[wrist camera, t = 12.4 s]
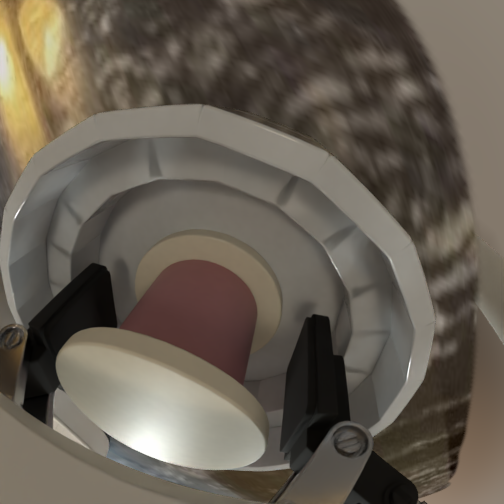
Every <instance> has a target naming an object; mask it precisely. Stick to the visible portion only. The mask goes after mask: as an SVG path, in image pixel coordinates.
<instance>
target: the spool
mask: <svg viewBox="0 0 504 504" xmlns="http://www.w3.org/2000/svg"><path fill="white" fill-rule="evenodd" d="M135 293H136V298H137V302H138V303H137V304H136V306H135V307H134V308H133V310H132V311H131V312H130V314H129V315H128V316H127V318H126V319H125V321H124V322H123V323H122V325H121V326H120V327H119V329H118V328H109V327H95V328H88V329H84V330H81V331H79V332H77V333H75V334H74V335H72V336H71V337H70V338H69V340H68V341H67V342H66V343H65V344H64V346H63V347H62V348H61V349H60V351H59V352H58V355H57V357H56V372H57V375H58V379H59V381H60V383H61V385H62V387H63V389H64V390H65V392H66V394H67V395H68V396H69V398H70V399H71V400H72V402H73V403H74V404H75V405H76V406H77V408H78V409H79V410H80V411H81V412H82V413H83V414H84V415H85V416H86V417H87V418H88V419H90V420H91V421H92V422H93V423H94V424H95V425H97V426H98V427H99V428H100V429H102V430H103V431H104V432H106V433H107V434H109V435H110V436H112V437H113V438H115V439H116V440H118V441H120V442H121V443H123V444H125V445H127V446H129V447H131V448H133V449H135V450H137V451H139V452H141V453H143V454H146V455H148V456H151V457H153V458H156V459H159V460H162V461H165V462H168V463H172V464H176V465H180V466H184V467H190V468H196V469H207V470H226V469H234V468H240V467H243V466H247V465H249V464H251V463H253V462H255V461H257V460H258V459H259V458H261V456H262V455H263V454H264V453H265V451H266V448H267V445H268V437H269V421H268V418H267V415H266V413H265V411H264V409H263V407H262V406H261V404H260V403H259V402H258V401H257V399H256V398H255V397H254V396H253V395H252V394H251V393H250V392H249V391H248V390H247V389H246V388H245V387H244V386H243V385H244V380H245V375H246V371H247V366H248V361H249V356H250V354H252V353H255V352H257V351H258V350H260V349H261V348H263V347H264V346H265V345H266V344H267V343H268V342H269V341H270V340H271V339H272V338H273V336H274V335H275V333H276V331H277V330H278V327H279V324H280V321H281V316H282V303H283V299H282V292H281V288H280V285H279V282H278V280H277V277H276V275H275V273H274V272H273V270H272V269H271V267H270V266H269V264H268V263H267V262H266V261H265V260H264V258H263V257H262V256H261V255H260V254H258V253H257V252H256V251H255V250H254V249H253V248H251V247H250V246H248V245H247V244H245V243H244V242H242V241H240V240H238V239H236V238H234V237H232V236H229V235H227V234H224V233H220V232H216V231H211V230H204V229H191V230H183V231H179V232H176V233H173V234H170V235H168V236H166V237H164V238H163V239H161V240H160V241H158V242H157V243H156V244H155V245H154V246H153V247H152V248H151V249H150V250H149V251H148V252H147V253H146V254H145V255H144V257H143V258H142V260H141V261H140V263H139V265H138V268H137V272H136V277H135Z"/></svg>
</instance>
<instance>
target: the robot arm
mask: <svg viewBox="0 0 504 504" xmlns="http://www.w3.org/2000/svg"><path fill="white" fill-rule="evenodd" d="M117 324H118V323H117V317H116V311H115V304H114V298H113V291H112V283H111V275H110V272H109V271H108V270H107V267H106V266H104V265H100V264H97V263H91V264H90V265H89V266H88V267H87V268H85V269H84V270H83V271H82V272H81V273H80V274H79V275H78V276H76V277H75V278H74V279H73V280H72V281H71V282H70V283H69V284H68V285H67V286H66V287H65V288H63V289H62V290H61V291H60V292H59V293H58V294H57V295H56V296H55V297H54V298H53V299H52V300H51V301H50V302H49V303H48V304H47V305H46V306H45V307H44V308H43V309H42V310H41V311H40V312H39V313H38V314H37V315H36V316H35V317H34V318H33V319H32V320H31V321H30V322H29V323H28V325H29V328H28V329H26V328H25V327H24V326H23V325H21V324H16V323H15V324H9V325H7V326H5V327H3V328H2V329H1V330H0V504H427V503H426V502H425V501H423V502H420V501H419V500H418V491H417V489H416V487H415V485H414V484H413V483H412V482H411V481H410V480H408V479H407V478H406V477H405V476H403V475H402V474H401V473H399V472H398V471H397V470H396V469H394V468H393V467H392V466H391V465H389V464H388V463H387V462H386V461H384V460H383V459H382V458H381V457H380V456H378V455H377V454H376V453H375V452H374V451H372V449H373V446H374V443H373V437H372V435H371V432H370V431H369V430H368V429H367V428H366V427H365V426H363V425H362V424H361V423H358V422H355V421H351V419H350V408H349V398H348V388H347V379H346V371H345V363H344V358H343V356H341V355H333V346H332V337H331V328H330V320H329V317H328V316H323V315H318V314H313V315H312V316H311V317H306V319H305V321H304V324H303V327H302V330H301V332H300V335H299V338H298V341H297V343H296V346H295V349H294V351H293V354H292V357H291V359H290V362H289V365H288V368H287V372H286V383H285V396H284V407H283V419H282V429H281V439H280V452H284V453H285V454H284V460H288V461H290V465H289V467H290V468H291V469H292V470H293V471H294V472H293V473H292V474H291V476H290V477H289V478H288V479H287V481H286V482H285V483H284V484H283V486H282V487H281V488H280V489H279V491H278V492H277V493H276V494H275V495H274V496H273V498H272V499H271V500H270V501H269V502H268V503H264V502H257V501H250V500H244V499H238V498H233V497H228V496H223V495H218V494H213V493H209V492H205V491H200V490H196V489H193V488H189V487H185V486H182V485H178V484H175V483H172V482H168V481H165V480H162V479H159V478H156V477H153V476H151V475H148V474H145V473H142V472H140V471H137V470H134V469H132V468H129V467H127V466H124V465H122V464H120V463H117V462H115V461H113V460H111V459H108V458H106V457H104V456H102V455H100V454H98V453H96V452H94V451H92V450H90V449H88V448H86V447H84V446H82V445H80V444H78V443H76V442H74V441H73V440H71V439H69V438H67V437H65V436H64V435H62V434H60V433H59V432H57V431H55V430H54V429H53V414H54V396H55V391H56V389H57V388H59V389H60V390H62V391H64V392H65V390H64V389H63V387H62V385H61V383H60V381H59V379H58V375H57V372H56V357H57V355H58V352H59V351H60V349H61V348H62V347H63V346H64V344H65V343H66V342H67V341H68V340H69V338H70V337H71V336H72V335H74V334H75V333H77V332H79V331H81V330H84V329H88V328H95V327H109V328H117Z"/></svg>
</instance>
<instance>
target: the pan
mask: <svg viewBox="0 0 504 504" xmlns="http://www.w3.org/2000/svg"><path fill="white" fill-rule="evenodd" d="M53 429H54V430H55V431H57V432H59V433H60V434H62V435H64V436H65V437H67V438H69V439H71V440H73V441H74V442H76V443H78V444H80V445H82V446H84V447H86V448H88V449H90V450H92V451H94V452H96V453H98V454H100V455H102V456H104V457H106V455H107V452H108V449H109V441H108V438H107V436H106V434H105V432H104V431H103V430H102V429H100V428H99V427H98V426H97V425H95V424H94V423H93V422H92V421H91V420H90V419H88V418H87V417H86V416H85V415H84V414H83V413H82V412H81V411H80V410H79V409H78V408H77V406H76V405H75V404H74V403H73V402H72V400H71V399H70V398H69V396H68V395H67V394H66V393H65V392H64V391H62V390H60V389H59V388H57V389H56V391H55V396H54V414H53Z"/></svg>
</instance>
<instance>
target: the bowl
mask: <svg viewBox="0 0 504 504" xmlns="http://www.w3.org/2000/svg"><path fill="white" fill-rule="evenodd" d="M191 229H204V230H211V231H216V232H220V233H224V234H227V235H229V236H232V237H234V238H236V239H238V240H240V241H242V242H244V243H245V244H247V245H248V246H250V247H251V248H253V249H254V250H255V251H256V252H257V253H258V254H260V255H261V256H262V257H263V258H264V260H265V261H266V262H267V263H268V264H269V266H270V267H271V269H272V270H273V272H274V273H275V275H276V277H277V280H278V282H279V285H280V288H281V292H282V299H283V303H282V316H281V321H280V324H279V327H278V330H277V331H276V333H275V335H274V336H273V338H272V339H271V340H270V341H269V342H268V343H267V344H266V345H265V346H264V347H263V348H261V349H260V350H258V351H257V352H255V353H252V354H250V356H249V361H248V366H247V371H246V375H245V380H244V385H243V386H244V387H245V388H246V389H247V390H248V391H249V392H250V393H251V394H252V395H253V396H254V397H255V398H256V399H257V401H258V402H259V403H260V404H261V406H262V407H263V409H264V411H265V413H266V415H267V418H268V421H269V437H268V445H267V448H266V451H265V453H264V454H263V455H262V456H261V458H259V459H258V460H257V461H255V462H253V463H251V464H249V465H247V466H243V467H240V468H234V469H227V470H242V471H272V470H280V469H288V468H290V467H289V465H290V461H288V460H284V454H285V453H284V452H280V439H281V429H282V419H283V407H284V396H285V383H286V372H287V368H288V365H289V362H290V359H291V357H292V354H293V351H294V349H295V346H296V343H297V341H298V338H299V335H300V332H301V330H302V327H303V324H304V321H305V319H306V317H311V316H312V315H313V314H318V315H323V316H328V317H329V320H330V328H331V337H332V346H333V355H341V356H343V358H344V363H345V371H346V379H347V388H348V398H349V408H350V419H351V421H355V422H358V423H361V424H362V425H363V426H365V427H366V428H367V429H368V430H369V431H370V432H371V435H372V437H373V436H375V435H376V434H378V433H379V432H380V431H382V430H383V429H385V428H386V427H387V426H389V425H390V424H391V423H393V422H394V420H395V419H396V418H397V417H398V415H399V414H400V413H401V411H402V410H403V409H404V408H405V406H406V405H407V403H408V402H409V401H410V399H411V398H412V397H413V395H414V394H415V392H416V391H417V389H418V388H419V386H420V385H421V383H422V382H423V379H424V378H425V374H426V369H427V365H428V361H429V356H430V352H431V347H432V342H433V336H434V331H435V325H436V321H435V320H436V316H435V312H434V308H433V304H432V300H431V296H430V292H429V289H428V285H427V281H426V278H425V275H424V271H423V268H422V265H421V262H420V259H419V256H418V252H417V250H416V247H415V244H414V242H413V241H412V239H411V237H410V236H409V234H408V233H407V232H406V231H405V230H404V229H403V227H402V226H401V225H400V224H399V223H398V222H397V220H396V219H395V218H394V217H393V216H392V215H391V214H390V213H389V211H388V210H387V209H386V208H385V207H384V206H383V205H382V204H381V203H380V202H379V201H378V199H377V198H376V197H375V196H374V195H373V194H372V193H371V192H370V191H369V190H368V189H367V188H366V187H365V186H364V185H363V184H362V183H361V182H360V181H359V180H358V179H357V178H356V177H355V176H354V175H353V174H352V173H351V172H350V171H349V170H348V169H347V168H346V167H345V166H344V165H343V164H342V163H341V162H340V161H339V160H338V159H337V158H336V157H335V156H334V155H332V154H331V153H330V152H329V151H328V150H327V149H326V148H325V147H323V146H322V145H321V144H320V143H319V142H318V141H317V140H315V139H313V138H312V137H311V136H309V135H306V134H304V133H302V132H299V131H297V130H295V129H292V128H290V127H287V126H285V125H283V124H280V123H278V122H275V121H272V120H270V119H267V118H265V117H262V116H259V115H257V114H254V113H251V112H248V111H244V110H238V109H233V108H227V107H220V106H213V105H206V104H178V105H162V106H149V107H139V108H130V109H121V110H114V111H107V112H100V113H98V114H93V115H92V116H90V117H88V118H87V119H85V120H83V121H82V122H80V123H79V124H77V125H75V126H74V127H72V128H71V129H69V130H68V131H66V132H65V133H63V134H62V135H60V136H59V137H57V138H56V139H54V140H53V141H52V142H50V143H49V144H47V145H46V146H45V147H43V148H42V149H40V150H39V151H38V152H36V153H35V154H34V155H33V157H32V158H31V159H30V161H29V163H28V164H27V166H26V168H25V169H24V171H23V173H22V175H21V176H20V178H19V180H18V182H17V184H16V185H15V187H14V189H13V191H12V193H11V195H10V197H9V199H8V201H7V203H6V205H5V208H4V213H3V220H2V228H1V237H0V268H1V274H2V279H3V284H4V289H5V294H6V298H7V302H8V305H9V308H10V310H11V313H12V315H13V317H14V319H15V322H16V324H21V325H23V326H24V327H25V328H26V329H28V328H29V325H28V323H29V322H30V321H31V320H32V319H33V318H34V317H35V316H36V315H37V314H38V313H39V312H40V311H41V310H42V309H43V308H44V307H45V306H46V305H47V304H48V303H49V302H50V301H51V300H52V299H53V298H54V297H55V296H56V295H57V294H58V293H59V292H60V291H61V290H62V289H63V288H65V287H66V286H67V285H68V284H69V283H70V282H71V281H72V280H73V279H74V278H75V277H76V276H78V275H79V274H80V273H81V272H82V271H83V270H84V269H85V268H87V267H88V266H89V265H90V264H91V263H97V264H100V265H104V266H106V267H107V270H108V271H109V272H110V275H111V283H112V291H113V298H114V304H115V311H116V317H117V323H118V324H117V328H118V329H119V327H120V326H121V325H122V323H123V322H124V321H125V319H126V318H127V316H128V315H129V314H130V312H131V311H132V310H133V308H134V307H135V306H136V304H137V303H138V302H137V298H136V293H135V277H136V272H137V268H138V265H139V263H140V261H141V260H142V258H143V257H144V255H145V254H146V253H147V252H148V251H149V250H150V249H151V248H152V247H153V246H154V245H155V244H156V243H157V242H158V241H160V240H161V239H163V238H164V237H166V236H168V235H170V234H173V233H176V232H179V231H183V230H191ZM65 393H66V392H65Z"/></svg>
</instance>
